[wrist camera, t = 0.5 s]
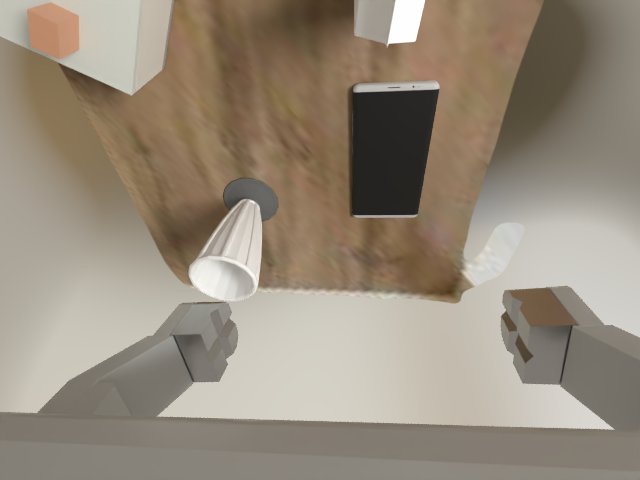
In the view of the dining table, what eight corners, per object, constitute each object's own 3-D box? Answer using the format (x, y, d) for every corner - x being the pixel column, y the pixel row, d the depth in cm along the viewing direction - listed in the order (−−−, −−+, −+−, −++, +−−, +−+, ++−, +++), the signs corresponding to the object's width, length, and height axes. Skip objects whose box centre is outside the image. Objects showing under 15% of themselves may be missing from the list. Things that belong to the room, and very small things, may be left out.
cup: (289, 207, 72) (272, 289, 57) (250, 229, 78) (224, 309, 62) (252, 167, 66) (221, 247, 51) (211, 194, 71) (172, 273, 56)
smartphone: (352, 213, 73) (352, 218, 72) (352, 82, 55) (352, 86, 53) (416, 213, 72) (417, 218, 71) (439, 78, 53) (441, 82, 52)
